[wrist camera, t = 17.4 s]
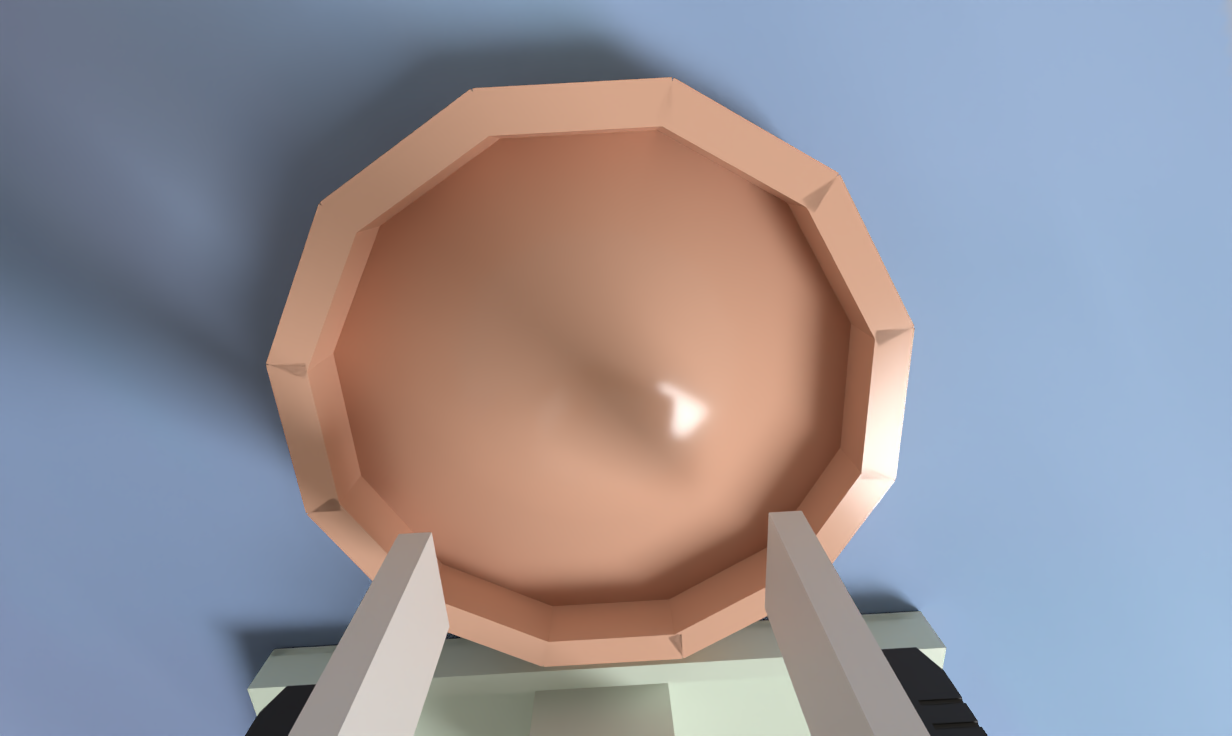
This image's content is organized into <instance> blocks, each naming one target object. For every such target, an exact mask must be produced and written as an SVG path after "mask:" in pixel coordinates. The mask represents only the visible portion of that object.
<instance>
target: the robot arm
mask: <svg viewBox="0 0 1232 736" xmlns="http://www.w3.org/2000/svg"><path fill="white" fill-rule="evenodd" d="M765 610H766V613H767V616H768V619H769V621H770V624H771V627H772V630H773V632H774V635H775V638H776V641H777V643H778V646H779V649H780V652H781V654H782V657H783V660H784V663H785V665H786V668H787V671H788V674H789V676H790V679H791V682H792V684H793V687H794V690H795V693H796V695H797V698H798V701H799V704H800V706H801V709H802V712H803V715H804V717H805V720H806V723H807V726H808V728H809V731H810V734H811V736H987V734H986V733H985V731H984V730H983V728H982V727H979V725H978V721H977V719H976V718H975V716H974V715H973V713H972V712H971V710H970V709H969V707H968V706H967V704H966V703H963V701H962V697H961V695H960V694H959V692H958V691H957V689H956V688H955V686H954V685H953V684H952V682H951V681H950V679H949V678H948V676H947V675H946V673H945V672H944V670H943V669H942V668H940V667H939V666H938V665H937V664H936V663H935V662H933V661H932V660H931V659H930V658H929V657H927V656H926V655H925V654H924V653H923V652H921V651H920V650H919V649H918V648H917V647H911V648H894V649H880V647H879V645H878V643H877V642H876V640H875V638H874V636H873V635H872V633H871V631H870V629H869V628H868V626H867V624H866V622H865V621H864V619H863V617H862V615H861V614H860V612H859V610H858V608H857V607H856V605H855V603H854V601H853V600H852V598H851V596H850V594H849V593H848V591H847V589H846V587H845V586H844V584H843V582H842V580H841V579H840V577H839V575H838V573H837V572H836V570H835V568H834V566H833V565H832V563H831V561H830V559H829V558H828V556H827V554H826V552H825V551H824V549H823V547H822V545H821V544H820V542H819V540H818V538H817V537H816V535H815V533H814V531H813V530H812V528H811V526H810V524H809V523H808V521H807V519H806V517H805V516H804V514H803V512H802V511H786V512H769V516H768V539H767V563H766V587H765ZM448 629H449V621H448V616H447V611H446V605H445V600H444V595H443V589H442V584H441V579H440V574H439V568H438V563H437V558H436V552H435V547H434V542H433V536H432V532H424V533H407V534H398V536H397V538H396V540H395V541H394V543H393V545H392V547H391V549H390V551H389V552H388V554H387V556H386V558H385V560H384V561H383V563H382V565H381V567H380V569H379V571H378V572H377V574H376V576H375V578H374V580H373V582H372V583H371V585H370V587H369V589H368V591H367V592H366V594H365V596H364V598H363V600H362V602H361V603H360V605H359V607H358V609H357V611H356V613H355V614H354V616H353V618H352V620H351V622H350V623H349V625H348V627H347V629H346V631H345V633H344V634H343V636H342V638H341V640H340V642H339V644H338V645H337V647H336V649H335V651H334V653H333V655H332V656H331V658H330V660H329V662H328V664H327V665H326V667H325V669H324V671H323V673H322V675H321V676H320V678H319V680H318V682H317V684H312V685H295V686H286V687H285V688H284V689H283V690H282V691H281V692H280V693H279V694H278V695H277V696H276V697H275V698H274V699H273V700H272V701H271V702H270V703H269V704H268V705H267V706H266V707H264V708H263V709H262V710H261V711H260V712H259V714H258V716H257V717H256V719H255V720H254V722H253V724H252V725H251V727H250V728H249V730H248V732H247V733H246V735H245V736H414V733H415V730H416V727H417V723H418V720H419V717H420V714H421V711H422V708H423V705H424V702H425V699H426V696H427V693H428V690H429V687H430V684H431V681H432V678H433V675H434V672H435V669H436V666H437V663H438V660H439V657H440V654H441V651H442V648H443V645H444V641H445V638H446V635H447V632H448Z"/></svg>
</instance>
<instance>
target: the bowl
mask: <svg viewBox="0 0 1232 736" xmlns="http://www.w3.org/2000/svg"><path fill="white" fill-rule="evenodd" d="M320 203H321V204H318V207H317V210H316V213H315V216H314V219H313V222H312V225H311V229H310V232H309V235H308V238H307V241H306V244H305V247H304V250H303V253H302V256H301V259H300V262H299V265H298V268H297V271H296V274H295V277H294V280H293V283H292V286H291V289H290V292H289V295H288V298H287V301H286V304H285V307H284V310H283V313H282V316H281V319H280V322H279V326H278V329H277V332H276V335H275V338H274V341H273V344H272V347H271V350H270V353H269V356H268V359H267V362H266V364H267V365H266V367H267V371H268V375H269V378H270V382H271V386H272V389H273V393H274V397H275V400H276V404H277V408H278V411H279V415H280V419H281V423H282V426H283V430H284V434H285V437H286V441H287V445H288V448H289V452H290V456H291V459H292V463H293V467H294V470H295V474H296V478H297V482H298V485H299V489H300V493H301V496H302V500H303V504H304V507H305V511H306V513H308V514H307V515H308V516H309V517H310V518H311V519H312V520H313V521H314V522H315V523H316V524H317V525H318V526H319V527H320V528H321V529H322V530H323V531H324V532H325V533H326V534H327V535H328V536H329V537H330V538H331V539H332V540H333V541H334V542H335V543H336V544H337V545H338V546H339V547H340V549H341V550H342V551H343V552H344V553H345V554H346V555H347V556H348V557H349V558H350V559H351V560H352V561H353V562H354V563H355V564H356V565H357V566H358V567H359V568H360V569H361V570H362V571H363V572H364V573H365V574H366V575H367V576H368V577H369V578H370V579H371V580H372V581H373V580H374V578H375V576H376V574H377V572H378V571H379V569H380V567H381V565H382V563H383V561H384V560H385V558H386V556H387V554H388V552H389V551H390V549H391V547H392V545H393V543H394V541H395V540H396V538H397V536H398V534H407V533H424V532H432V536H433V542H434V547H435V552H436V558H437V563H438V568H439V574H440V579H441V584H442V589H443V595H444V600H445V605H446V611H447V616H448V621H449V629H448V633H451V634H454V635H457V636H459V637H462V638H465V639H467V640H470V641H473V642H476V643H478V644H481V645H484V646H487V647H489V648H492V649H495V650H498V651H500V652H503V653H506V654H509V655H511V656H514V657H517V658H520V659H522V660H525V661H528V662H531V663H533V664H536V665H539V666H543V665H544V667H552V666H569V665H586V664H603V663H620V662H637V661H654V660H671V659H682V657H683V658H686V657H688V656H690V655H692V654H694V653H696V652H698V651H699V650H701V649H703V648H705V647H707V646H709V645H711V644H713V643H715V642H717V641H719V640H721V639H723V638H725V637H727V636H729V635H731V634H733V633H735V632H737V631H739V630H741V629H743V628H745V627H747V626H749V625H751V624H752V623H754V622H756V621H758V620H760V619H762V618H764V617H766V616H767V613H766V610H765V587H766V563H767V539H768V516H769V512H786V511H802V512H803V514H804V516H805V517H806V519H807V521H808V523H809V524H810V526H811V528H812V530H813V531H814V533H815V535H816V537H817V538H818V540H819V542H820V544H821V545H822V547H823V549H824V551H825V552H826V554H827V556H828V558H829V559H830V561H831V563H833V562H834V561H835V559H836V558H837V557H838V555H839V554H840V553H841V551H842V550H843V549H844V547H845V546H846V545H847V543H848V542H849V541H850V539H851V538H852V537H853V535H854V534H855V533H856V532H857V530H858V529H859V528H860V526H861V525H862V524H863V522H864V521H865V520H866V518H867V517H868V516H869V514H870V513H871V512H872V510H873V509H874V508H875V506H876V505H877V504H878V502H879V501H880V500H881V498H882V497H883V496H884V494H885V493H886V492H887V490H888V489H889V488H890V486H891V485H892V484H893V482H894V481H895V480H894V479H896V473H897V465H898V457H899V449H900V441H901V433H902V425H903V417H904V409H905V401H906V393H907V385H908V377H909V369H910V361H911V353H912V345H913V337H914V329H915V328H913V327H914V325H913V323H912V321H911V319H910V317H909V315H908V313H907V311H906V309H905V306H904V304H903V302H902V300H901V298H900V296H899V294H898V292H897V290H896V288H895V286H894V284H893V282H892V280H891V278H890V276H889V274H888V272H887V270H886V268H885V266H884V263H883V261H882V259H881V257H880V255H879V253H878V251H877V249H876V247H875V245H874V243H873V241H872V239H871V237H870V235H869V233H868V231H867V229H866V227H865V225H864V223H863V220H862V218H861V216H860V214H859V212H858V210H857V208H856V206H855V204H854V202H853V200H852V198H851V196H850V194H849V192H848V190H847V188H846V186H845V184H844V182H843V180H842V177H841V175H838V172H836V171H834V170H832V169H831V168H829V167H827V166H826V165H824V164H822V163H820V162H819V161H817V160H815V159H814V158H812V157H810V156H808V155H807V154H805V153H803V152H801V151H800V150H798V149H796V148H795V147H793V146H791V145H789V144H788V143H786V142H784V141H782V140H781V139H779V138H777V137H776V136H774V135H772V134H770V133H769V132H767V131H765V130H763V129H762V128H760V127H758V126H757V125H755V124H753V123H751V122H750V121H748V120H746V119H745V118H743V117H741V116H739V115H738V114H736V113H734V112H732V111H731V110H729V109H727V108H726V107H724V106H722V105H720V104H719V103H717V102H715V101H713V100H712V99H710V98H708V97H707V96H705V95H703V94H701V93H700V92H698V91H696V90H694V89H693V88H691V87H689V86H688V85H686V84H684V83H682V82H681V81H679V80H677V79H675V78H673V80H672V77H666V78H648V79H630V80H612V81H594V82H576V83H558V84H540V85H522V86H503V87H485V88H473V90H471V89H470V90H468V91H467V92H466V93H464V94H463V95H462V96H460V97H459V98H458V99H456V100H455V101H454V102H452V103H451V104H450V105H448V106H447V107H446V108H444V109H443V110H442V111H440V112H439V113H438V114H436V115H435V116H434V117H432V118H431V119H430V120H428V121H427V122H426V123H424V124H423V125H422V126H420V127H419V128H418V129H416V130H415V131H414V132H413V133H411V134H410V135H409V136H407V137H406V138H405V139H403V140H402V141H401V142H399V143H398V144H397V145H395V146H394V147H393V148H391V149H390V150H389V151H387V152H386V153H385V154H383V155H382V156H381V157H379V158H378V159H377V160H375V161H374V162H373V163H371V164H370V165H369V166H367V167H366V168H365V169H363V170H362V171H361V172H359V173H358V174H357V175H355V176H354V177H353V178H351V179H350V180H349V181H347V182H346V183H345V184H343V185H342V186H341V187H339V188H338V189H337V190H335V191H334V192H333V193H331V194H330V195H329V196H327V197H326V198H325V199H323V200H322V201H321V202H320Z"/></svg>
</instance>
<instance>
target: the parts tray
mask: <svg viewBox="0 0 1232 736" xmlns="http://www.w3.org/2000/svg"><path fill="white" fill-rule="evenodd" d="M862 617H863V619H864V621H865V622H866V624H867V626H868V628H869V629H870V631H871V633H872V635H873V636H874V638H875V640H876V642H877V643H878V645H879V647H880V649H894V648H911V647H917V648H918V649H919V650H920V651H921V652H923V653H924V654H925V655H926V656H927V657H929V658H930V659H931V660H932V661H933V662H935V663H936V664H937V665H938V666H939V667H940V668H942V669H943V663H944V657H945V652H946V647H945V645H944V644H943V642H942V641H941V640H940V638H939V637H938V635H937V634H936V633H935V631H934V630H933V628H932V627H931V625H930V624H929V623H928V621H927V620H926V618H925V617H924V616H923V614H922V613H921V611H916V612H899V613H882V614H865V615H862ZM336 647H337V645H336V646H319V647H302V648H285V649H274V650H273V651H272V653H271V654H270V656H269V657H268V659H267V660H266V662H265V663H264V665H263V666H262V668H261V669H260V671H259V672H258V674H257V675H256V677H255V678H254V680H253V681H252V683H251V684H250V686H249V687H248V692H249V695H250V698H251V701H252V704H253V706H254V709H255V712H256V715H257V716H258V714H259V712H260V711H261V710H262V709H263V708H264V707H266V706H267V705H268V704H269V703H270V702H271V701H272V700H273V699H274V698H275V697H276V696H277V695H278V694H279V693H280V692H281V691H282V690H283V689H284V688H285V687H286V686H295V685H312V684H317V682H318V680H319V678H320V676H321V675H322V673H323V671H324V669H325V667H326V665H327V664H328V662H329V660H330V658H331V656H332V655H333V653H334V651H335V649H336ZM661 683H668V686H669V694H670V702H671V710H672V718H673V726H674V734H675V736H811V734H810V731H809V728H808V726H807V723H806V720H805V717H804V715H803V712H802V709H801V706H800V704H799V701H798V698H797V695H796V693H795V690H794V687H793V684H792V682H791V679H790V676H789V674H788V671H787V668H786V665H785V663H784V660H783V657H782V654H781V652H780V649H779V646H778V643H777V641H776V638H775V635H774V632H773V630H772V627H771V624H770V621H769V620H763V621H756V622H754V623H752V624H751V625H749V626H747V627H745V628H743V629H741V630H739V631H737V632H735V633H733V634H731V635H729V636H727V637H725V638H723V639H721V640H719V641H717V642H715V643H713V644H711V645H709V646H707V647H705V648H703V649H701V650H699V651H698V652H696V653H694V654H692V655H690V656H688V657H686V658H683V657H682V659H671V660H654V661H637V662H620V663H603V664H586V665H569V666H552V667H544V665H543V666H539V665H536V664H533V663H531V662H528V661H525V660H522V659H520V658H517V657H514V656H511V655H509V654H506V653H503V652H500V651H498V650H495V649H492V648H489V647H487V646H484V645H481V644H478V643H476V642H473V641H470V640H467V639H465V638H456V639H445V641H444V645H443V648H442V651H441V654H440V657H439V660H438V663H437V666H436V669H435V672H434V675H433V678H432V681H431V684H430V687H429V690H428V693H427V696H426V699H425V702H424V705H423V708H422V711H421V714H420V717H419V720H418V723H417V727H416V730H415V733H414V736H530V728H531V720H532V712H533V705H534V697H535V691H542V690H559V689H576V688H593V687H610V686H627V685H644V684H661Z"/></svg>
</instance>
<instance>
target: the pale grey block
mask: <svg viewBox="0 0 1232 736" xmlns="http://www.w3.org/2000/svg"><path fill="white" fill-rule="evenodd" d="M530 736H675V734H674V726H673V718H672V710H671V702H670V694H669V686H668V683H661V684H644V685H627V686H610V687H593V688H576V689H559V690H542V691H535V697H534V705H533V712H532V720H531V728H530Z"/></svg>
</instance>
